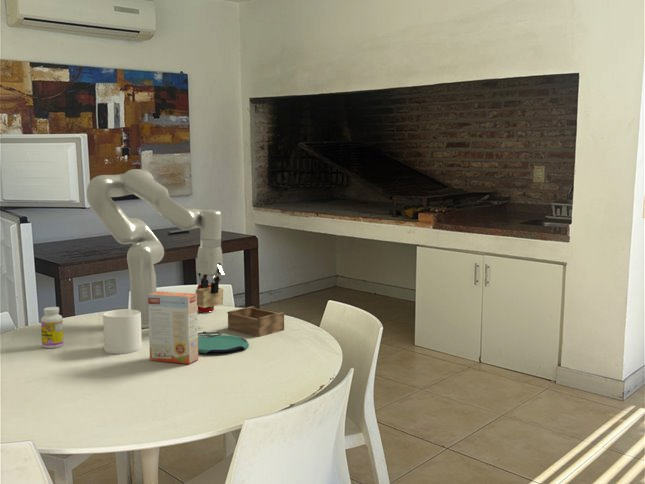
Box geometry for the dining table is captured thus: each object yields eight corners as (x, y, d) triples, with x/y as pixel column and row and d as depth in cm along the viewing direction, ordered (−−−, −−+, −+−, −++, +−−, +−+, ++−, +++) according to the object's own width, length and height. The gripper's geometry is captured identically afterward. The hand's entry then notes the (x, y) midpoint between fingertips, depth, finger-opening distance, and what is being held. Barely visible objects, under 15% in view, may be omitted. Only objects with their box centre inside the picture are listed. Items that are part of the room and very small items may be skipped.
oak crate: (204, 307, 227) (204, 291, 227) (195, 305, 230) (195, 289, 230) (222, 304, 234) (223, 288, 234) (213, 302, 237) (214, 286, 237)
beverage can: (210, 313, 256) (209, 285, 255) (195, 313, 257) (194, 284, 256) (216, 310, 263) (216, 282, 261) (201, 309, 264) (200, 281, 263)
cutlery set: (196, 359, 193) (196, 352, 193) (173, 338, 220) (173, 332, 220) (256, 352, 202) (256, 345, 202) (227, 332, 229) (227, 326, 229)
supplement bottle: (37, 347, 206) (35, 309, 204) (53, 342, 212) (52, 305, 210) (52, 349, 203) (50, 311, 201) (68, 344, 209) (66, 307, 207)
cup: (149, 346, 207) (148, 311, 206) (124, 355, 196) (123, 318, 195) (122, 342, 212) (120, 308, 210) (96, 351, 201) (95, 314, 200)
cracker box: (199, 359, 192) (198, 292, 190) (189, 365, 187) (187, 296, 184) (160, 355, 197) (158, 290, 195) (149, 360, 191) (147, 293, 189)
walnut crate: (259, 336, 219) (259, 318, 219) (227, 329, 230) (227, 311, 229) (284, 329, 229) (284, 312, 229) (252, 322, 240) (252, 306, 239)
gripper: (187, 241, 232) (186, 289, 234) (218, 246, 222) (216, 297, 224) (203, 240, 238) (202, 287, 240) (233, 245, 227) (232, 294, 229)
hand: (209, 291), depth 232 cm, fingers closed on oak crate, 5 cm apart
